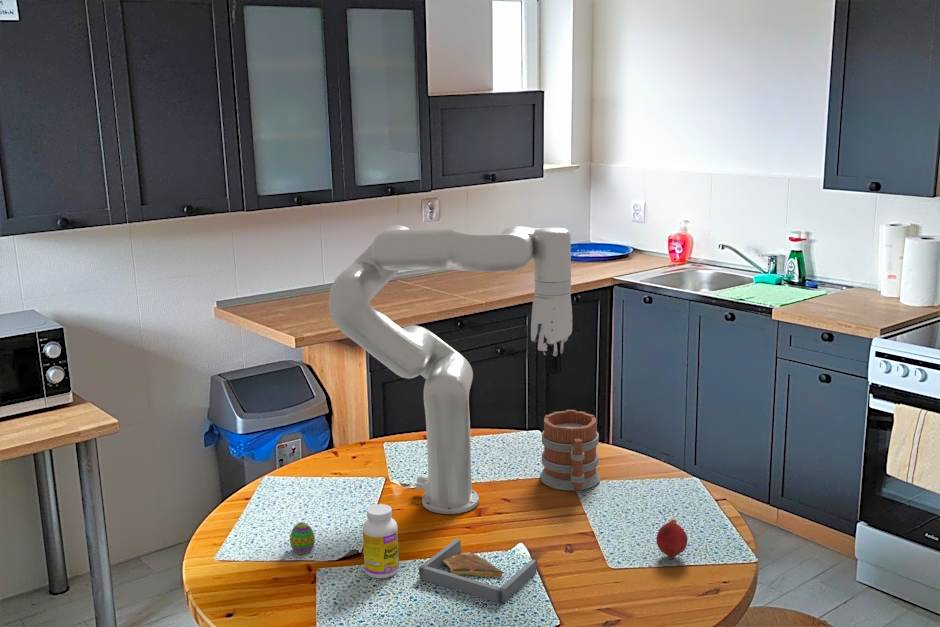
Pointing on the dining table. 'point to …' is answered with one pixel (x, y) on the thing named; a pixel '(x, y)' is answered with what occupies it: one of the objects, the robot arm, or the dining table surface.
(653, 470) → the dining table surface
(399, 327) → the robot arm
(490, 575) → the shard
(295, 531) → the egg
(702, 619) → the dining table surface
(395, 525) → the supplement bottle
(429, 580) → the slate bay
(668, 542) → the onion
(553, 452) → the mug
